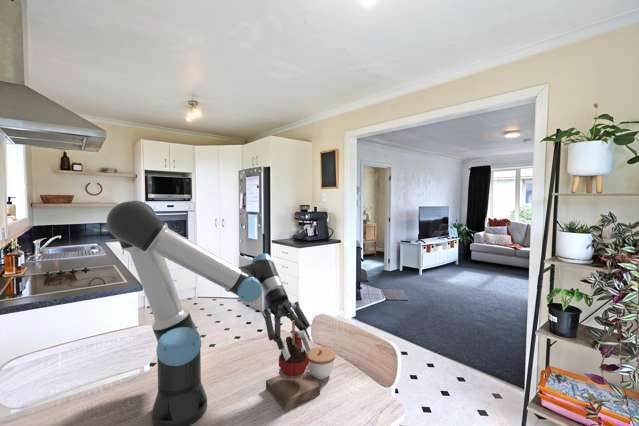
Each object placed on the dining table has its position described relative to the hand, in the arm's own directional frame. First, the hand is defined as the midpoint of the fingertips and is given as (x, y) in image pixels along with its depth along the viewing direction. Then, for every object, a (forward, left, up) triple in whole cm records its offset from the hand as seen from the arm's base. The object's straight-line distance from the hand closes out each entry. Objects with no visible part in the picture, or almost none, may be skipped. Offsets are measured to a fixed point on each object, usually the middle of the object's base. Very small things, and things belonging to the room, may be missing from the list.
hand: (299, 354), depth 97 cm
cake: (0, +4, -8) cm, 9 cm away
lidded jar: (+13, +6, -14) cm, 20 cm away
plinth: (0, +3, -14) cm, 14 cm away
